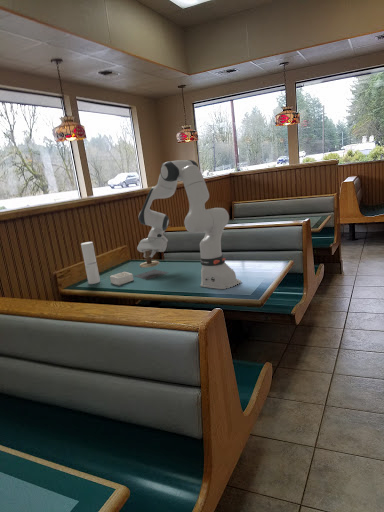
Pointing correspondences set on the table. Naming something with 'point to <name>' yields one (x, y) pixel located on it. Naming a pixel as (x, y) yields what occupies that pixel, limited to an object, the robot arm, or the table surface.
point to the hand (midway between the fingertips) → (147, 257)
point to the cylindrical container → (90, 262)
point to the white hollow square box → (121, 278)
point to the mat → (150, 274)
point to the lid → (148, 261)
